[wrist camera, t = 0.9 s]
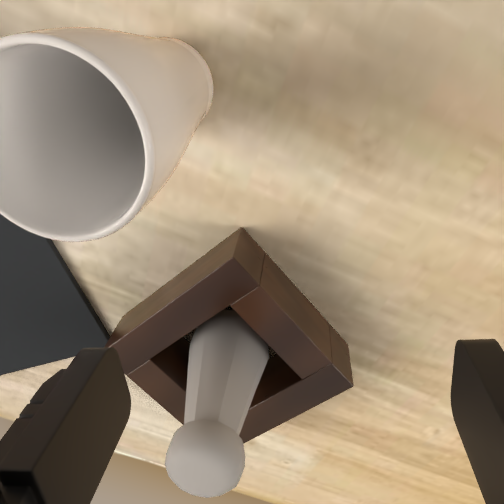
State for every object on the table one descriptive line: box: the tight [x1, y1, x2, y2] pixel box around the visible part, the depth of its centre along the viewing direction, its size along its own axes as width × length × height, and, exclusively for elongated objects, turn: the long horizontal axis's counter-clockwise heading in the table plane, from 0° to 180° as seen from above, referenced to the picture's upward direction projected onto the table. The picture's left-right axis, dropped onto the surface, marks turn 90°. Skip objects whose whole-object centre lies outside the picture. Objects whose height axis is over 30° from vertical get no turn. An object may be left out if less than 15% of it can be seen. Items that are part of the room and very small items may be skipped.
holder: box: [104, 227, 353, 443], centre depth 34 cm, size 12×12×4 cm
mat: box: [0, 214, 110, 375], centre depth 36 cm, size 13×13×1 cm
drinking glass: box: [0, 27, 213, 242], centre depth 21 cm, size 7×7×15 cm
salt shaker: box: [165, 310, 269, 498], centre depth 30 cm, size 6×6×13 cm
